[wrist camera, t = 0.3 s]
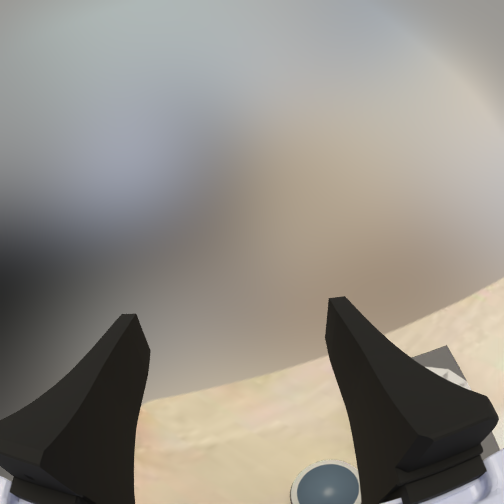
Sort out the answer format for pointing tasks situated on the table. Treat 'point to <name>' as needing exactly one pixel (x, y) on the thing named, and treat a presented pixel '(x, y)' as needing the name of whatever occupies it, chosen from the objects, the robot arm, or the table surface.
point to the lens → (327, 484)
